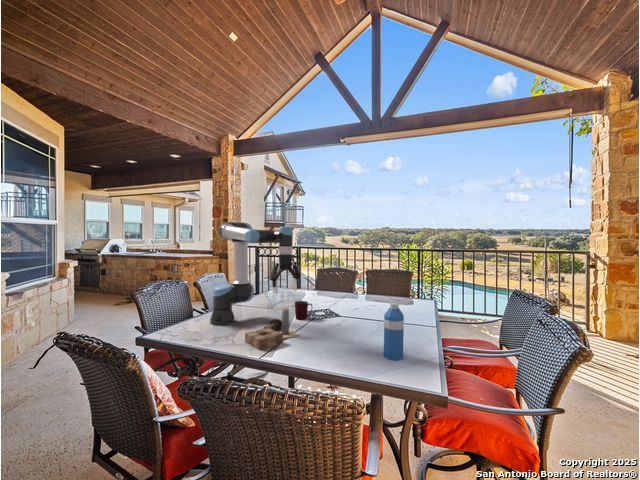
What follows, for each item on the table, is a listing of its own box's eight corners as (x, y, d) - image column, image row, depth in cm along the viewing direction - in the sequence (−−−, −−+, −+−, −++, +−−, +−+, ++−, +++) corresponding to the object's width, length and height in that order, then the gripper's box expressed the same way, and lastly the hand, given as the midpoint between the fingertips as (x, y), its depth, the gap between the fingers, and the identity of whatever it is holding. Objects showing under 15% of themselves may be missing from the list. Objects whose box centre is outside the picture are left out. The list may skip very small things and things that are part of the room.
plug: (280, 333, 170) (280, 309, 169) (285, 332, 172) (286, 307, 172) (284, 335, 167) (284, 310, 167) (290, 333, 169) (290, 309, 169)
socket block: (245, 342, 157) (245, 333, 157) (267, 336, 166) (267, 327, 166) (259, 350, 147) (259, 340, 146) (282, 343, 156) (282, 333, 156)
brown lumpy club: (270, 335, 166) (269, 325, 166) (259, 334, 168) (259, 324, 169) (284, 327, 183) (283, 317, 183) (274, 326, 185) (274, 317, 185)
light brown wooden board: (270, 334, 170) (270, 333, 170) (287, 330, 178) (287, 329, 178) (282, 340, 161) (282, 338, 161) (300, 335, 169) (300, 334, 169)
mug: (313, 317, 206) (313, 301, 206) (311, 320, 198) (311, 304, 197) (296, 316, 208) (296, 300, 208) (293, 320, 199) (293, 303, 199)
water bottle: (380, 352, 145) (381, 301, 145) (399, 352, 146) (400, 301, 145) (386, 360, 136) (387, 306, 135) (406, 360, 137) (407, 305, 136)
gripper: (271, 255, 158) (270, 295, 158) (306, 253, 175) (306, 289, 175) (263, 254, 163) (262, 293, 163) (298, 252, 180) (298, 287, 181)
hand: (285, 291), depth 169 cm, fingers open, 13 cm apart
